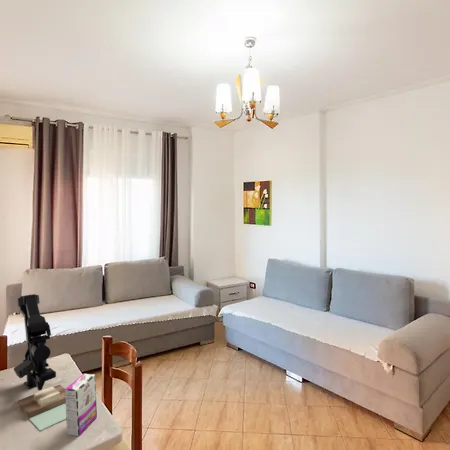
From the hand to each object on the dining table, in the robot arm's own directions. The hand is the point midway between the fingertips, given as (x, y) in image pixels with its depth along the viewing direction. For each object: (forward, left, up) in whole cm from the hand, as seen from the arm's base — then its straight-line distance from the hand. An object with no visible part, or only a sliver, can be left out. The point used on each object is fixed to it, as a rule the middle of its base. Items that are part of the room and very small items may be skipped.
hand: (39, 390), depth 141 cm
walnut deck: (+6, 0, -4) cm, 7 cm away
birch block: (+7, 0, -1) cm, 7 cm away
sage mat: (+17, 0, -4) cm, 17 cm away
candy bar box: (+30, +3, -4) cm, 30 cm away
